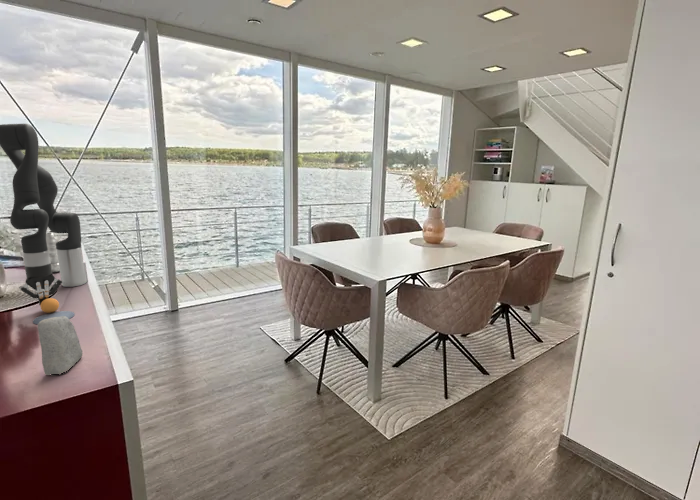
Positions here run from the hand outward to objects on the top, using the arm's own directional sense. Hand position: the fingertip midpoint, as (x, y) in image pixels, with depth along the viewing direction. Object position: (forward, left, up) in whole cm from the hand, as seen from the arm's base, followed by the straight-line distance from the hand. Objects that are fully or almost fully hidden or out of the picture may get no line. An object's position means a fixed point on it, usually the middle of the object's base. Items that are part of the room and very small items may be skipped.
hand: (44, 306), depth 142 cm
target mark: (+6, +9, -2) cm, 11 cm away
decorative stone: (+34, +41, -2) cm, 53 cm away
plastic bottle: (-44, -41, -2) cm, 60 cm away
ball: (+1, +4, +1) cm, 4 cm away
